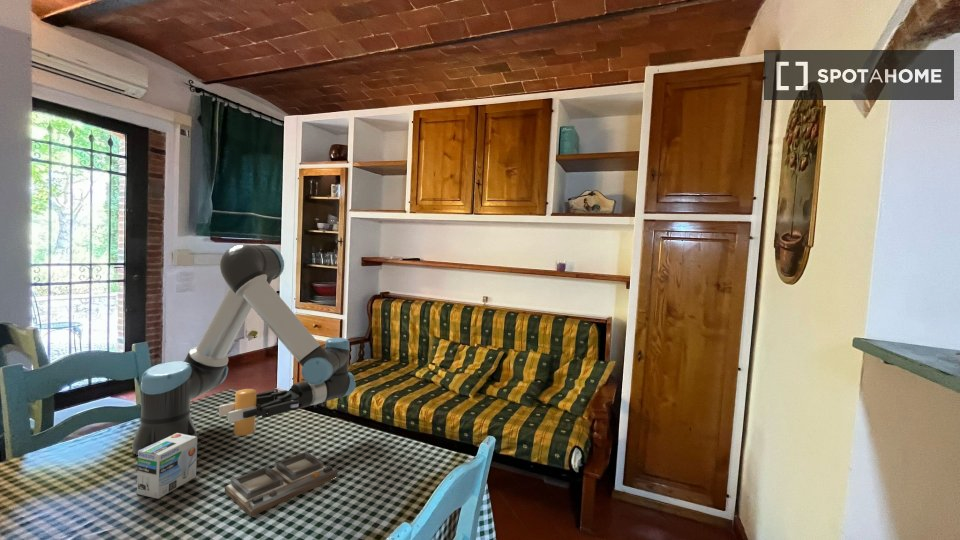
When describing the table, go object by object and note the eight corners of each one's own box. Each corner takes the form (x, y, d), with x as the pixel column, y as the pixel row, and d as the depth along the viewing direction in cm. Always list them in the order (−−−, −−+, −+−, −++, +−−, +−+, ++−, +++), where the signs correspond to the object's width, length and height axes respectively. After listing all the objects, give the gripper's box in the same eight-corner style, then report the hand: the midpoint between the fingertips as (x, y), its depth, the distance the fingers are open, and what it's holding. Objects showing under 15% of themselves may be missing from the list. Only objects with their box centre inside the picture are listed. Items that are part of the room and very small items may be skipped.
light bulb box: (158, 499, 97) (159, 455, 97) (135, 494, 99) (135, 450, 98) (197, 476, 108) (198, 435, 107) (176, 471, 109) (177, 431, 109)
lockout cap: (230, 431, 112) (232, 391, 112) (249, 425, 116) (251, 387, 116) (238, 437, 109) (240, 396, 109) (258, 431, 113) (259, 392, 113)
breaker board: (224, 491, 102) (225, 479, 101) (308, 458, 119) (309, 448, 119) (250, 516, 93) (250, 503, 93) (336, 477, 111) (337, 465, 110)
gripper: (323, 414, 122) (238, 439, 103) (291, 397, 133) (209, 417, 114) (324, 389, 121) (239, 410, 103) (292, 374, 132) (210, 391, 114)
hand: (224, 414), depth 108 cm, fingers closed on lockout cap, 5 cm apart
